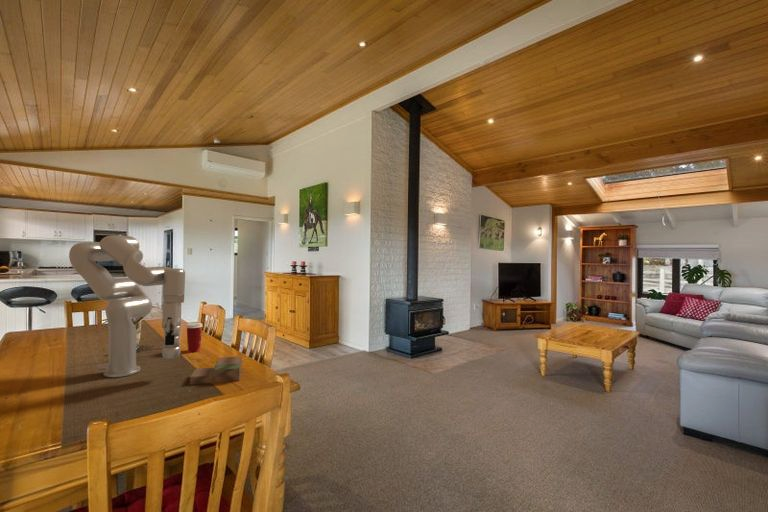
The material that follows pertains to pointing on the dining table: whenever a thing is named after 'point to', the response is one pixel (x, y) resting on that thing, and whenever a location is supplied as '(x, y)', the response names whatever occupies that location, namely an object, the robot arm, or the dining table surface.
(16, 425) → the dining table surface
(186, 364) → the dining table surface
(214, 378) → the step stand
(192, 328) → the paper cup
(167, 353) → the plastic bottle
